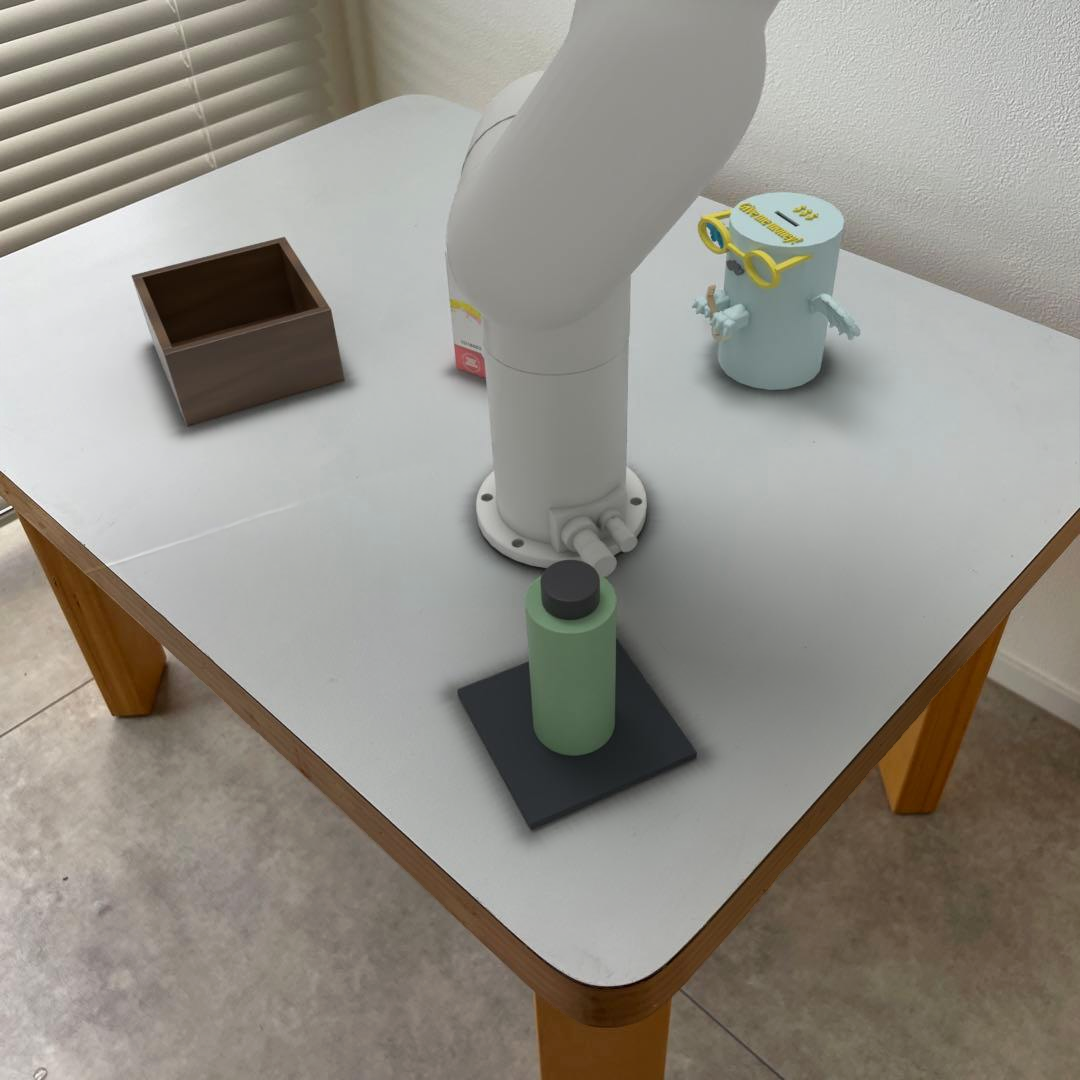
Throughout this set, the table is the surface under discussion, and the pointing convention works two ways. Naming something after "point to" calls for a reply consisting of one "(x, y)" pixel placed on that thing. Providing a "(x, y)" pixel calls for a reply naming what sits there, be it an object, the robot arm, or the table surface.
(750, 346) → the character sculpture
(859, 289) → the table surface
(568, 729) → the bottle
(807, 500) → the table surface
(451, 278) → the ink cartridge box
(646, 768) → the mat
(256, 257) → the open box
